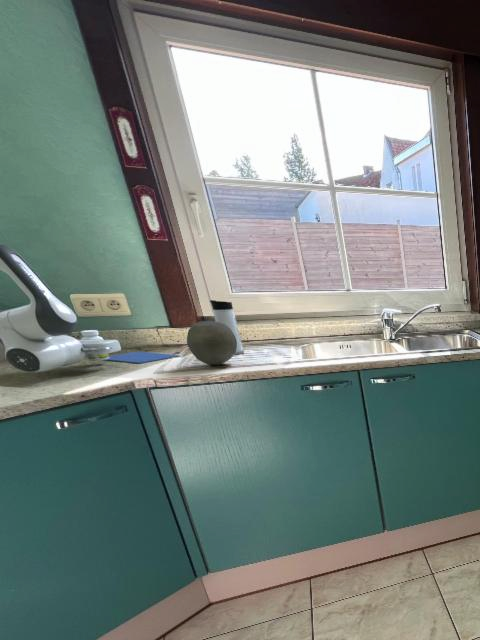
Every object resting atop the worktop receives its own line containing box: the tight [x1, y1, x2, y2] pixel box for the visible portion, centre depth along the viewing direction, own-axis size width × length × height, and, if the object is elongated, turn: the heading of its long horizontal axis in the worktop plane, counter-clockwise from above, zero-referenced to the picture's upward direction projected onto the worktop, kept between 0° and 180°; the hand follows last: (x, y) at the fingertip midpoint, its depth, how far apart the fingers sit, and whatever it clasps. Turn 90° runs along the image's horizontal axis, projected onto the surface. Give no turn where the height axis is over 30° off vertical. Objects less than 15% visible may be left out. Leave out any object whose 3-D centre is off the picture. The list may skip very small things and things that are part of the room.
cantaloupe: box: [186, 320, 237, 366], centre depth 168 cm, size 14×14×15 cm
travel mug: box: [209, 299, 244, 356], centre depth 185 cm, size 6×7×20 cm
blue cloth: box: [106, 351, 181, 365], centre depth 177 cm, size 20×14×1 cm
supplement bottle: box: [80, 329, 110, 362], centre depth 164 cm, size 5×5×10 cm
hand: (95, 342), depth 165 cm, fingers closed on supplement bottle, 5 cm apart
